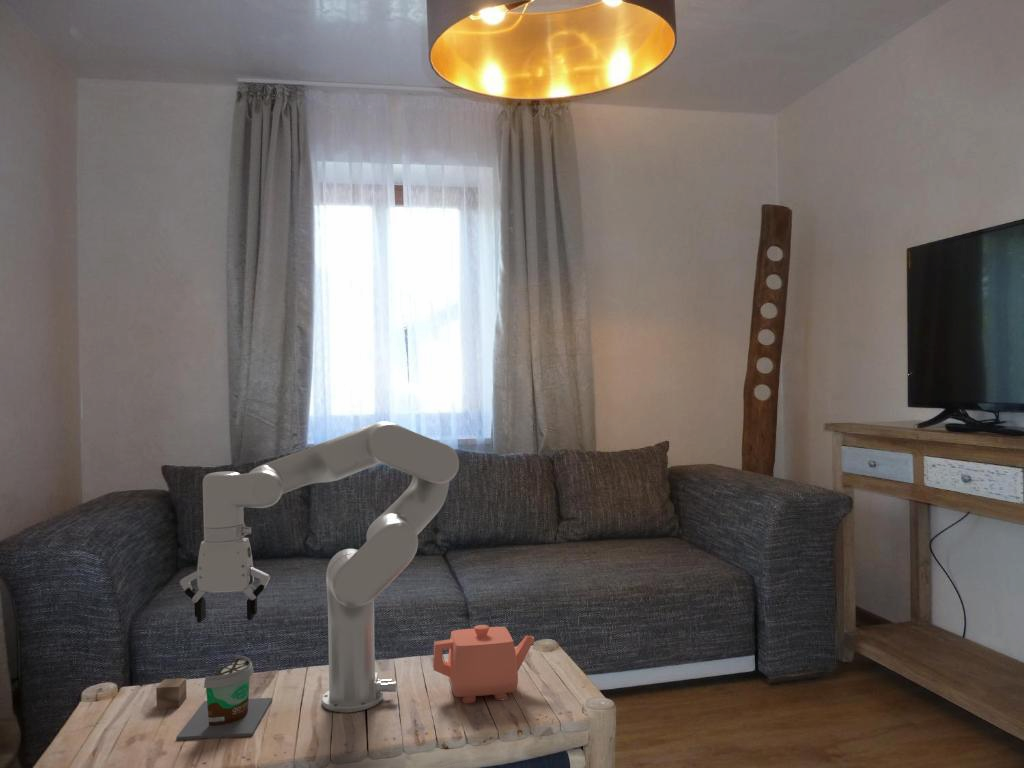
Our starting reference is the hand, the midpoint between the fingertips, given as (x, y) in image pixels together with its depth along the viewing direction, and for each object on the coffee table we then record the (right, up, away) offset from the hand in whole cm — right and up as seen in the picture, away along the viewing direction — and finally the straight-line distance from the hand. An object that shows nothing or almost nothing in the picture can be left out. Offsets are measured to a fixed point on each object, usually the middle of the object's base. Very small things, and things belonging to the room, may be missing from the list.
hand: (226, 619), depth 149 cm
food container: (+2, -20, 0) cm, 20 cm away
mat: (0, -20, 0) cm, 20 cm away
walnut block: (-15, -20, +8) cm, 26 cm away
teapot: (+51, -19, +11) cm, 56 cm away
